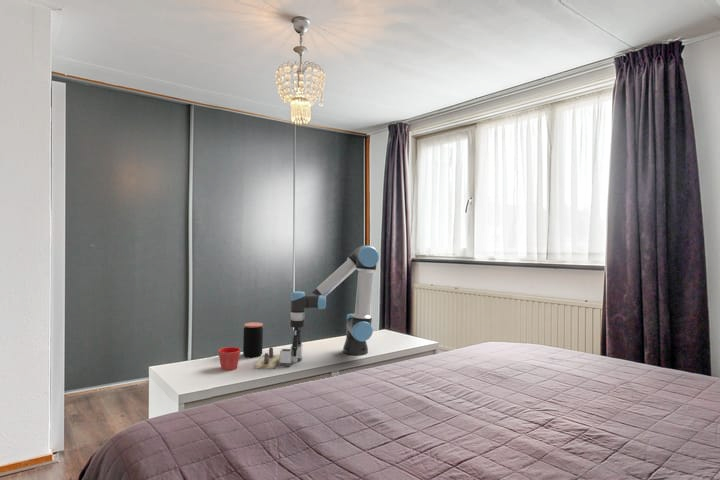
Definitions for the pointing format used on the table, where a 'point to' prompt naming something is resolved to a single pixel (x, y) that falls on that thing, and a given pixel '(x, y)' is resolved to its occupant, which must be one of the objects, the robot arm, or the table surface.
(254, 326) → the coffee jar
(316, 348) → the table surface
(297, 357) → the sleeve
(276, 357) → the pin board
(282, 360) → the sleeve
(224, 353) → the flower pot
